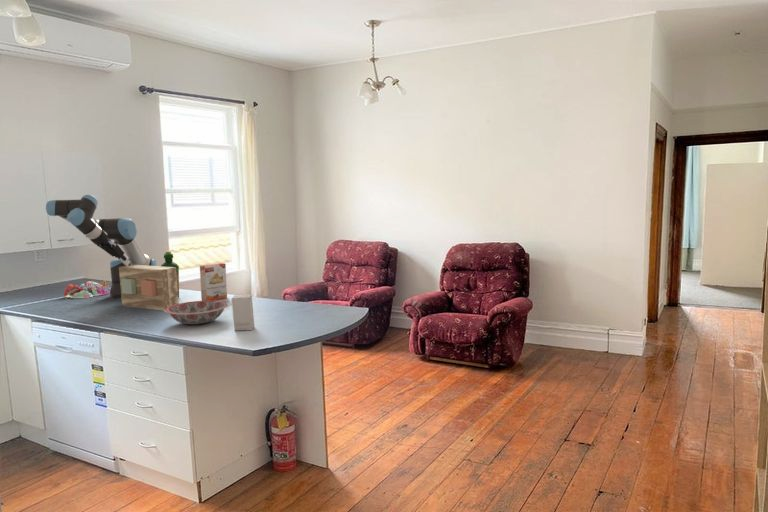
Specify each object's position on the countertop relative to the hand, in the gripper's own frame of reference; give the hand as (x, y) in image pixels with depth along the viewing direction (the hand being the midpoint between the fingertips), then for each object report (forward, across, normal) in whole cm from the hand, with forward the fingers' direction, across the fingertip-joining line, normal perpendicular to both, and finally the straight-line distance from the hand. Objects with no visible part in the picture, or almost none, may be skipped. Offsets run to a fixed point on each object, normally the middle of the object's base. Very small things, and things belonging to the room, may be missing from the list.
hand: (128, 263), depth 294 cm
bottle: (+47, -16, +9) cm, 50 cm away
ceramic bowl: (+20, +47, -19) cm, 54 cm away
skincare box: (+19, +77, -20) cm, 82 cm away
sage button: (+22, -17, -5) cm, 28 cm away
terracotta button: (+22, -1, -5) cm, 23 cm away
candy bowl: (+39, -76, 0) cm, 85 cm away
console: (+32, -9, -6) cm, 34 cm away
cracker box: (+52, +12, +14) cm, 55 cm away
